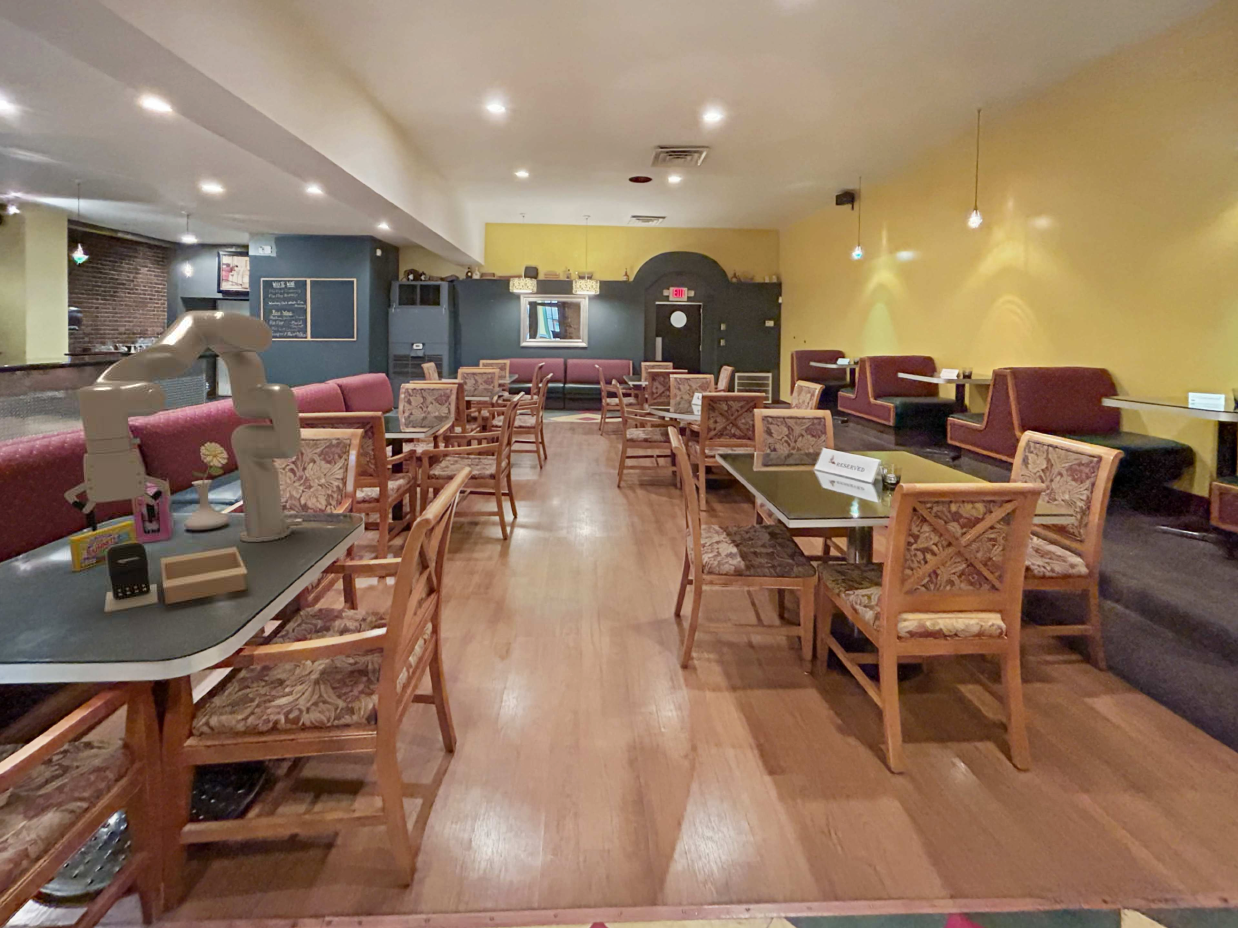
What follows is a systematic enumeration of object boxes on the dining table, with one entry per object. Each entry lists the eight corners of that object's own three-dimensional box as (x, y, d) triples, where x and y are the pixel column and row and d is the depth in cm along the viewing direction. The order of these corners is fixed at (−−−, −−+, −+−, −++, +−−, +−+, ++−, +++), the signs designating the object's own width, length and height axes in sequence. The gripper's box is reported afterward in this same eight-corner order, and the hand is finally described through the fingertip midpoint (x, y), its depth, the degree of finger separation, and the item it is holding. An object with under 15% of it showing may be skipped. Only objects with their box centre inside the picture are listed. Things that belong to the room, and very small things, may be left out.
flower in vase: (191, 535, 194) (180, 448, 189) (179, 528, 201) (168, 443, 197) (241, 526, 203) (232, 442, 198) (227, 519, 211) (218, 438, 206)
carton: (238, 566, 167) (235, 546, 166) (249, 594, 149) (247, 572, 148) (163, 579, 159) (160, 558, 158) (166, 610, 141) (163, 587, 140)
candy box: (79, 572, 165) (74, 538, 163) (72, 571, 165) (66, 538, 164) (138, 551, 180) (134, 520, 179) (131, 550, 181) (127, 520, 179)
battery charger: (114, 602, 144) (106, 550, 142) (111, 597, 146) (103, 546, 144) (153, 594, 148) (146, 543, 146) (150, 589, 151) (143, 539, 149)
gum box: (170, 541, 189) (164, 492, 187) (135, 545, 185) (128, 496, 183) (174, 521, 209) (168, 477, 207) (143, 525, 206) (137, 480, 203)
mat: (156, 585, 155) (156, 583, 155) (157, 602, 145) (157, 600, 145) (107, 594, 150) (106, 592, 150) (104, 612, 140) (104, 610, 140)
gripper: (159, 438, 149) (171, 515, 153) (57, 448, 139) (72, 528, 143) (160, 443, 143) (172, 522, 147) (54, 453, 133) (69, 538, 137)
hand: (123, 525), depth 145 cm, fingers open, 9 cm apart
